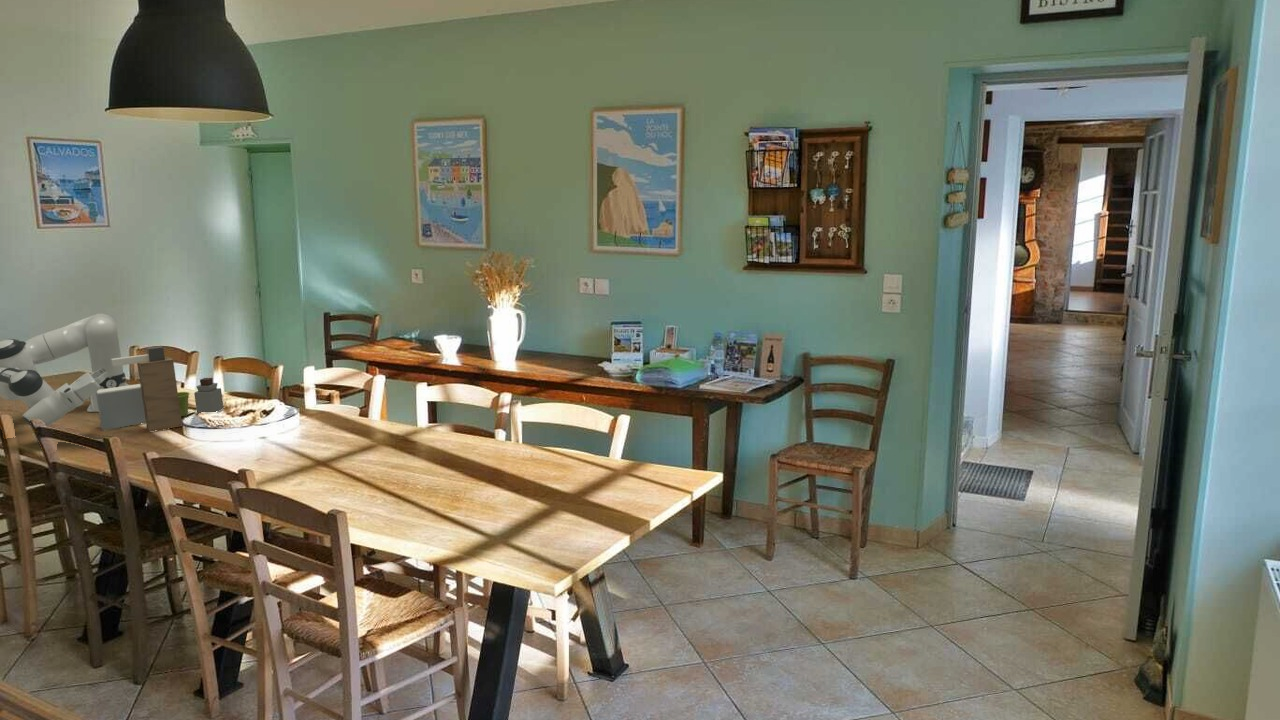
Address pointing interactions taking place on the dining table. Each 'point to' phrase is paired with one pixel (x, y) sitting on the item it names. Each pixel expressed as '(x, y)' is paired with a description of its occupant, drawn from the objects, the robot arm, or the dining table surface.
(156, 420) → the walnut stand
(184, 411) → the plant pot
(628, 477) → the dining table surface
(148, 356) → the mallet
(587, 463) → the dining table surface
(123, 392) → the notepad block
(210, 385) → the perfume bottle
